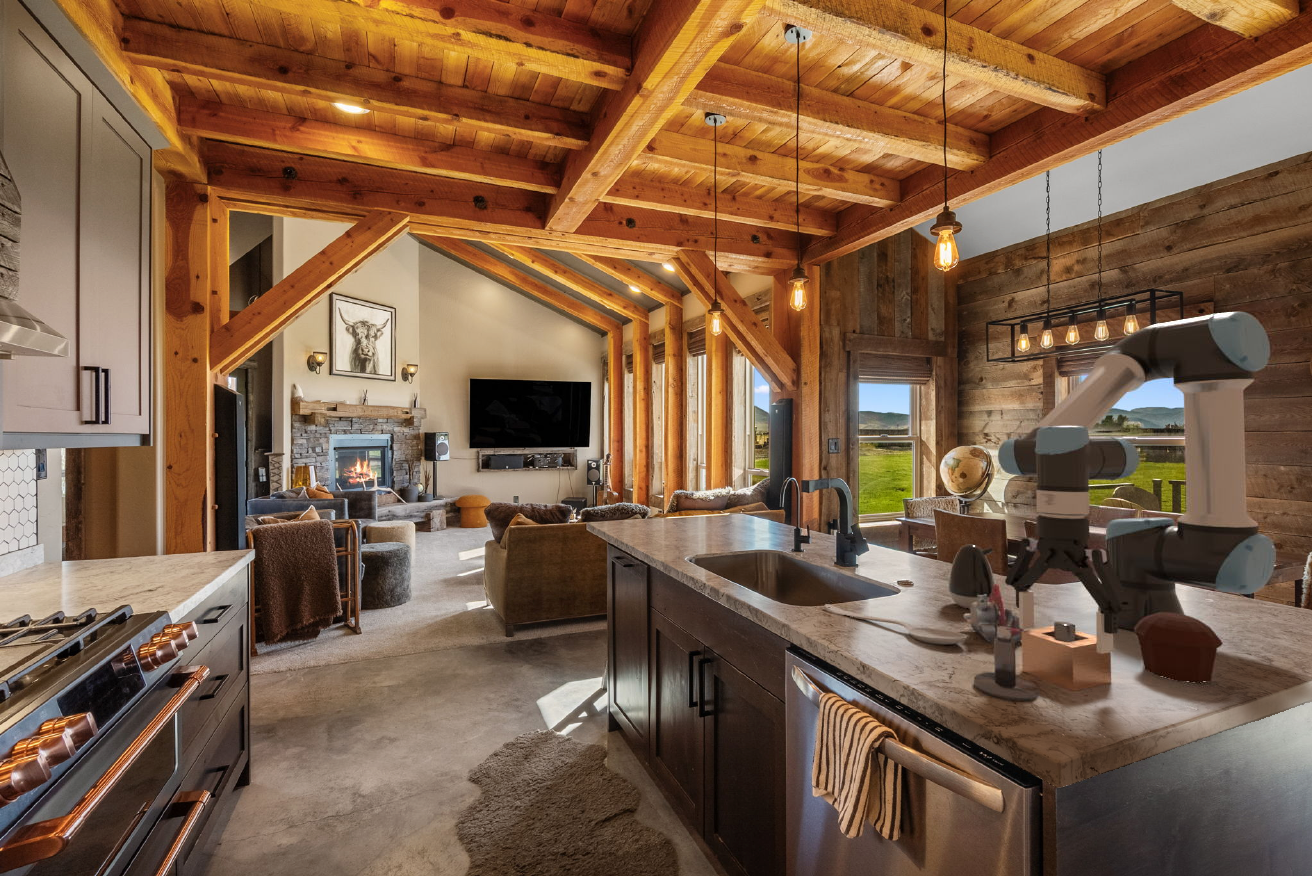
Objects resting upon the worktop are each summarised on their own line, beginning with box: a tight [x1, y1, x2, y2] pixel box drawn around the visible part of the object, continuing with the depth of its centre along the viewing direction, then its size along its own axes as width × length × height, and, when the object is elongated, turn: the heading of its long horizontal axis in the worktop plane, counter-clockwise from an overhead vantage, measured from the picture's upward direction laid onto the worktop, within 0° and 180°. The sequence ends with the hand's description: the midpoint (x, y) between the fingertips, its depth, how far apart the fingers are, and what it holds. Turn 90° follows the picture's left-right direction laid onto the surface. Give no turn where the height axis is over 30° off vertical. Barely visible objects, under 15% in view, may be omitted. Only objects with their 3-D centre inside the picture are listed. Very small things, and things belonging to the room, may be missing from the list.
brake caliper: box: [962, 583, 1025, 644], centre depth 123 cm, size 11×11×12 cm
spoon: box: [823, 603, 968, 645], centre depth 130 cm, size 35×8×3 cm, turn 32°
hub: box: [973, 626, 1039, 702], centre depth 97 cm, size 9×9×10 cm
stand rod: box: [1053, 621, 1076, 642], centre depth 102 cm, size 3×3×9 cm
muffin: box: [1133, 612, 1224, 684], centre depth 103 cm, size 12×11×10 cm
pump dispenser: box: [948, 543, 996, 610], centre depth 145 cm, size 10×10×15 cm
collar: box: [1021, 625, 1112, 692], centre depth 102 cm, size 9×9×7 cm
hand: (1063, 639), depth 102 cm, fingers open, 13 cm apart
